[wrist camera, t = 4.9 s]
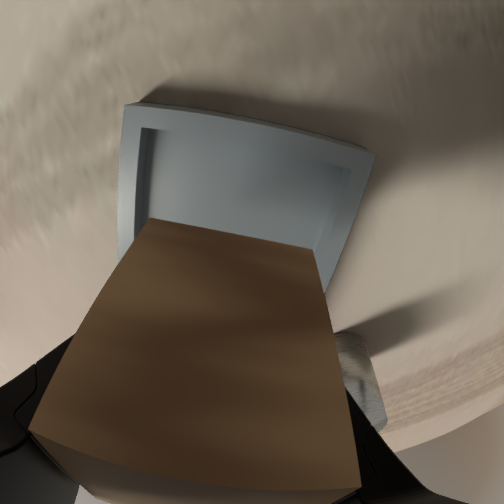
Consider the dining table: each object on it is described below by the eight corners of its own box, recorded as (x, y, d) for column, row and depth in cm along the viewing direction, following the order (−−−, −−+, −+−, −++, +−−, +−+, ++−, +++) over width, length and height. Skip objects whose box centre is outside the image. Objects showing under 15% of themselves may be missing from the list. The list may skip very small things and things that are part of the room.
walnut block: (312, 249, 9) (361, 487, 3) (272, 355, 12) (273, 528, 6) (150, 217, 9) (27, 428, 3) (148, 332, 12) (95, 498, 6)
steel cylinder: (375, 335, 22) (400, 411, 16) (351, 371, 24) (367, 442, 18) (321, 329, 22) (336, 412, 16) (301, 367, 24) (308, 443, 18)
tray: (364, 147, 15) (376, 155, 13) (272, 384, 25) (273, 401, 24) (138, 101, 14) (124, 105, 12) (134, 358, 24) (128, 374, 23)
